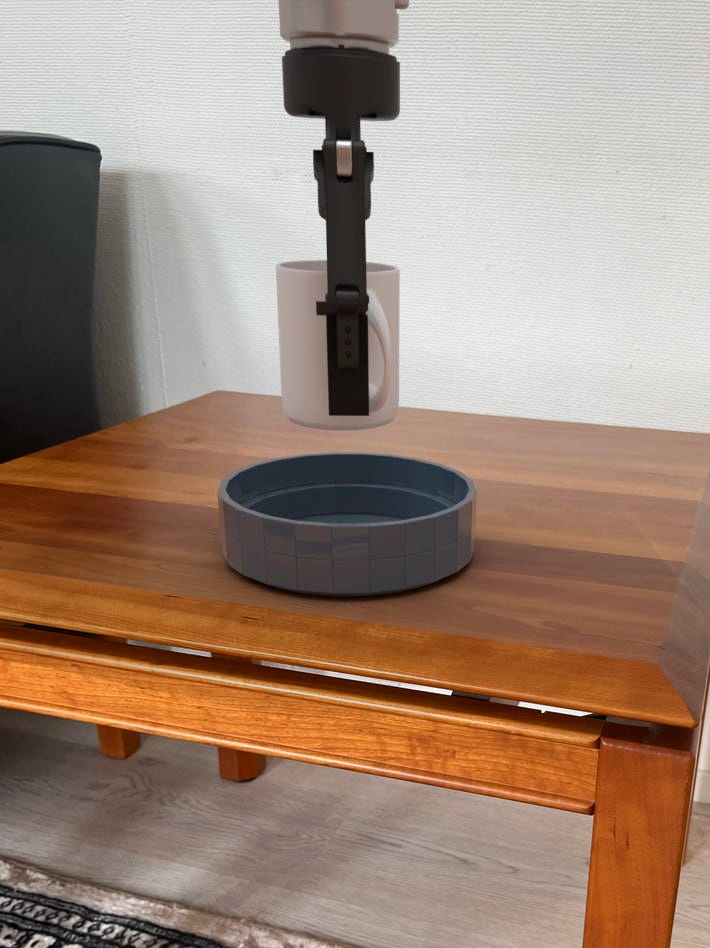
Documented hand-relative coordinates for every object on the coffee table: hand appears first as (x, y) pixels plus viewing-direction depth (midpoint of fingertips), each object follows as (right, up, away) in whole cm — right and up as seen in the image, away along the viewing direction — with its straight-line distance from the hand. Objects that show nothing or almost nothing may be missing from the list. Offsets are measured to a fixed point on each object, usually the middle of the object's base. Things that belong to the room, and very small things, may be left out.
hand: (348, 397), depth 74 cm
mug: (0, -2, 0) cm, 2 cm away
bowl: (0, -11, +5) cm, 12 cm away
